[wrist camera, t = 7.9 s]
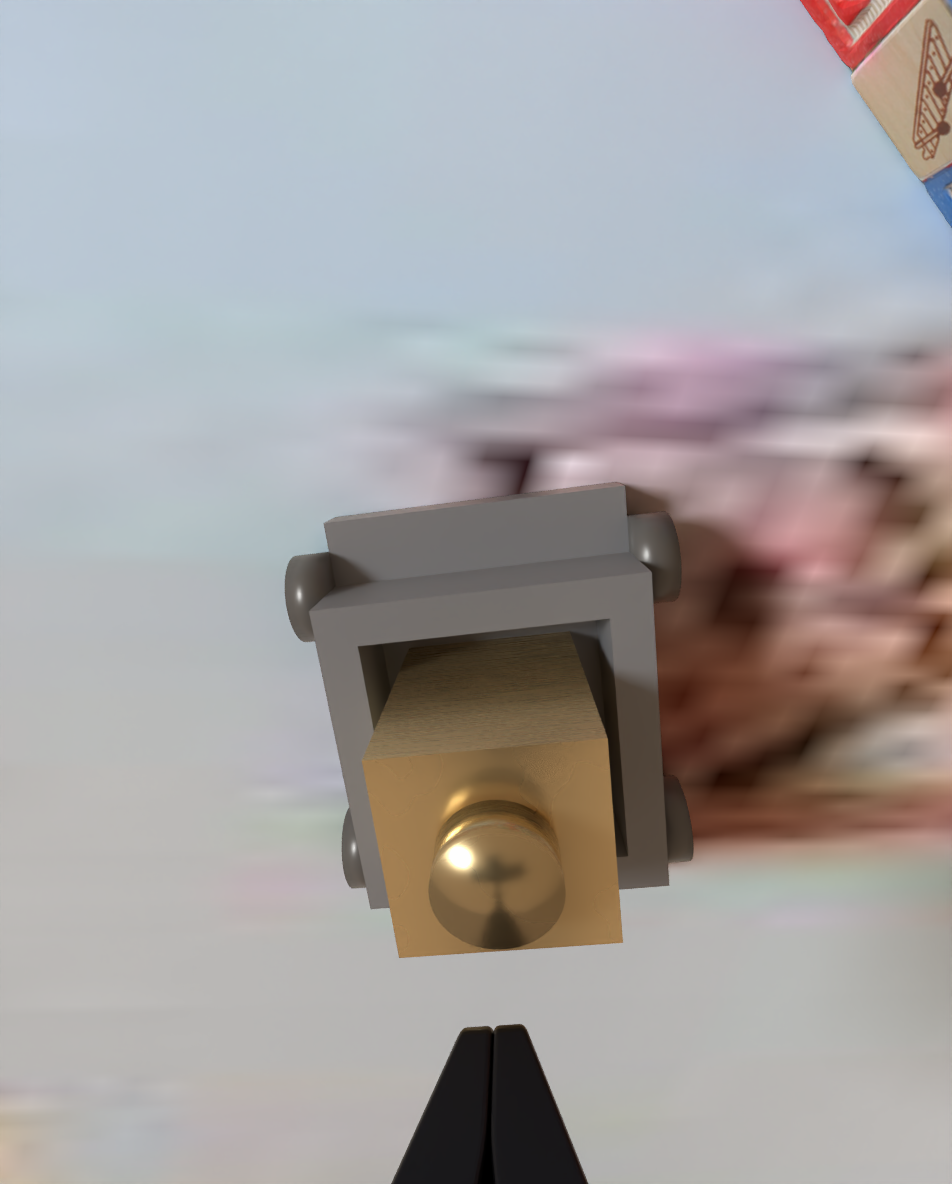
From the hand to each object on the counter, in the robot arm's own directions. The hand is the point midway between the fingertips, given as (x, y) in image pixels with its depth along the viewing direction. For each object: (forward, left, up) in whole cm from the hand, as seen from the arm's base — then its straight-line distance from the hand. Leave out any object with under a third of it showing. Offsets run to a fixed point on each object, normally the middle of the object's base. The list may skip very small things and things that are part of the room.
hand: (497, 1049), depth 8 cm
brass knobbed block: (0, 0, -10) cm, 10 cm away
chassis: (0, 0, -11) cm, 11 cm away
